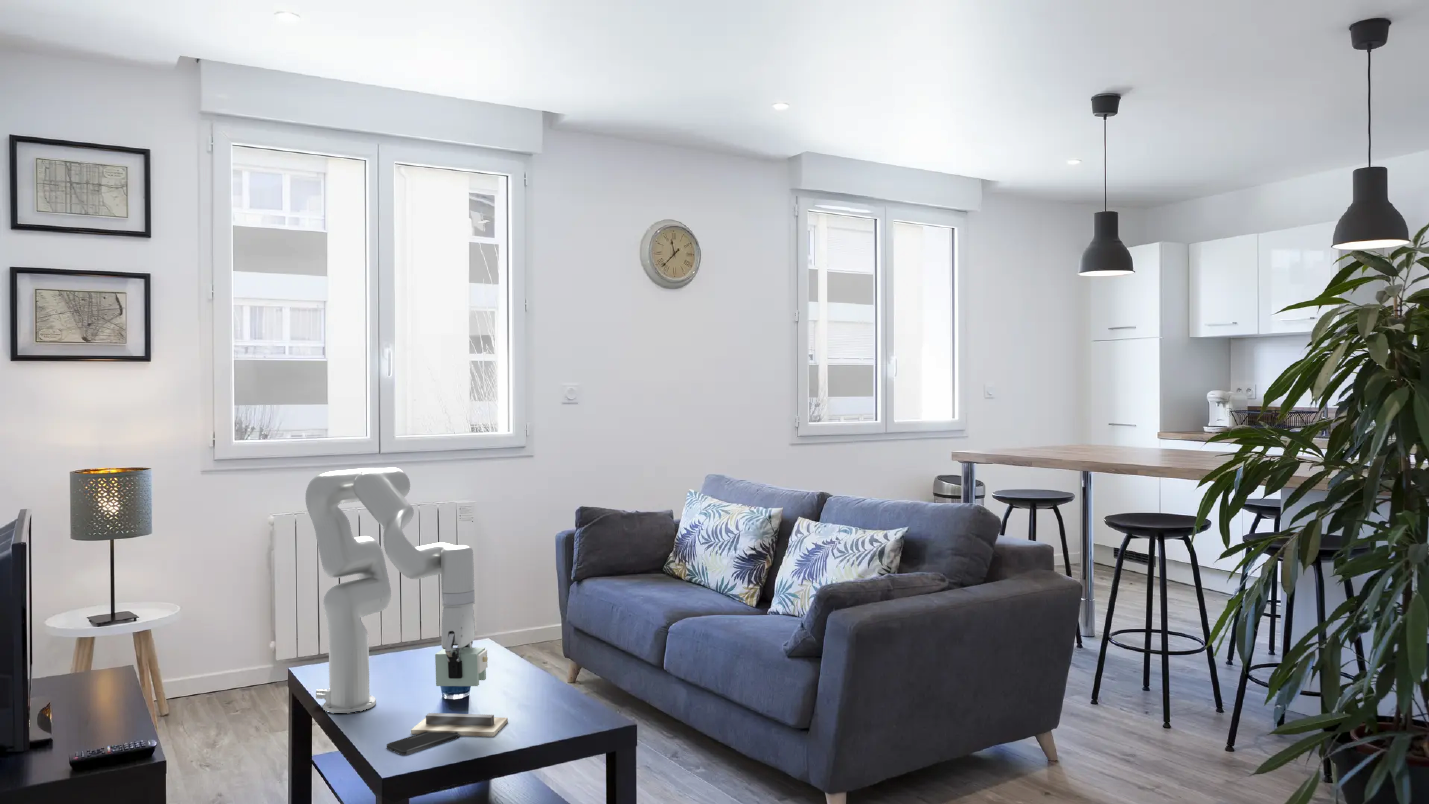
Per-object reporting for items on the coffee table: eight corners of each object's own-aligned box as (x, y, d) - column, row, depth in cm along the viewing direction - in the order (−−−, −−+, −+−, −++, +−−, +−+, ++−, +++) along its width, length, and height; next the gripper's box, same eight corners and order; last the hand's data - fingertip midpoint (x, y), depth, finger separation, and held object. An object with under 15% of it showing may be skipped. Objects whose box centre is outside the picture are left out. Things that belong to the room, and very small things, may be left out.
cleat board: (410, 734, 233) (410, 721, 233) (428, 719, 243) (427, 707, 243) (493, 736, 231) (493, 723, 231) (507, 721, 241) (507, 709, 241)
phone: (461, 733, 231) (403, 752, 219) (461, 738, 231) (403, 757, 219) (441, 726, 236) (384, 744, 224) (441, 731, 236) (384, 749, 224)
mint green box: (436, 686, 234) (435, 654, 234) (445, 678, 240) (444, 647, 240) (483, 686, 233) (482, 654, 233) (491, 678, 239) (490, 647, 239)
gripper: (456, 591, 245) (459, 664, 245) (428, 606, 228) (431, 684, 228) (486, 590, 244) (488, 664, 244) (460, 605, 227) (462, 684, 227)
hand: (460, 673), depth 236 cm, fingers closed on mint green box, 6 cm apart
